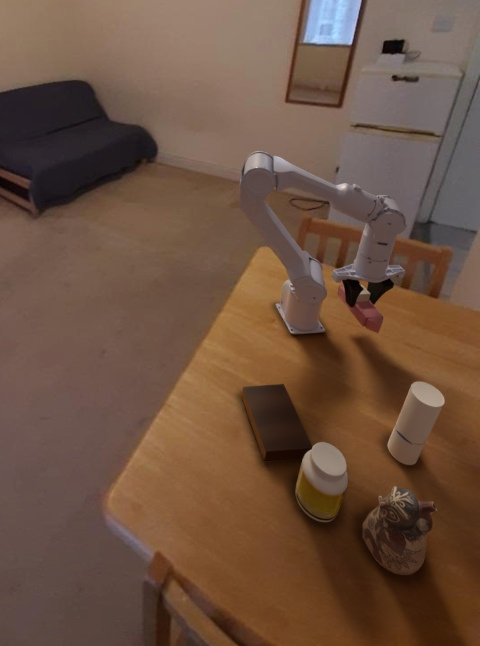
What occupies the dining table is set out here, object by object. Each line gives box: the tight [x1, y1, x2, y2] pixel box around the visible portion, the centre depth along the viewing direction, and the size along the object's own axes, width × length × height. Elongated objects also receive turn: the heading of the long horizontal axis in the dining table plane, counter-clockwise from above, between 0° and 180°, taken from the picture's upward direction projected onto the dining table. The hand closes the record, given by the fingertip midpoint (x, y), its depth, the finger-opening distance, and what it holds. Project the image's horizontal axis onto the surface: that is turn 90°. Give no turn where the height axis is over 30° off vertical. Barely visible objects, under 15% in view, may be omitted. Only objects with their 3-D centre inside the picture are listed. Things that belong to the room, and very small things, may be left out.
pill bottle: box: [294, 441, 349, 523], centre depth 61 cm, size 6×6×11 cm
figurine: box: [362, 485, 438, 576], centre depth 55 cm, size 7×7×12 cm
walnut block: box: [241, 383, 313, 463], centre depth 73 cm, size 12×8×3 cm, turn 3°
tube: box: [387, 380, 445, 466], centre depth 66 cm, size 4×4×15 cm
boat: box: [336, 284, 385, 334], centre depth 88 cm, size 12×4×5 cm, turn 3°
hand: (359, 303), depth 89 cm, fingers closed on boat, 4 cm apart
